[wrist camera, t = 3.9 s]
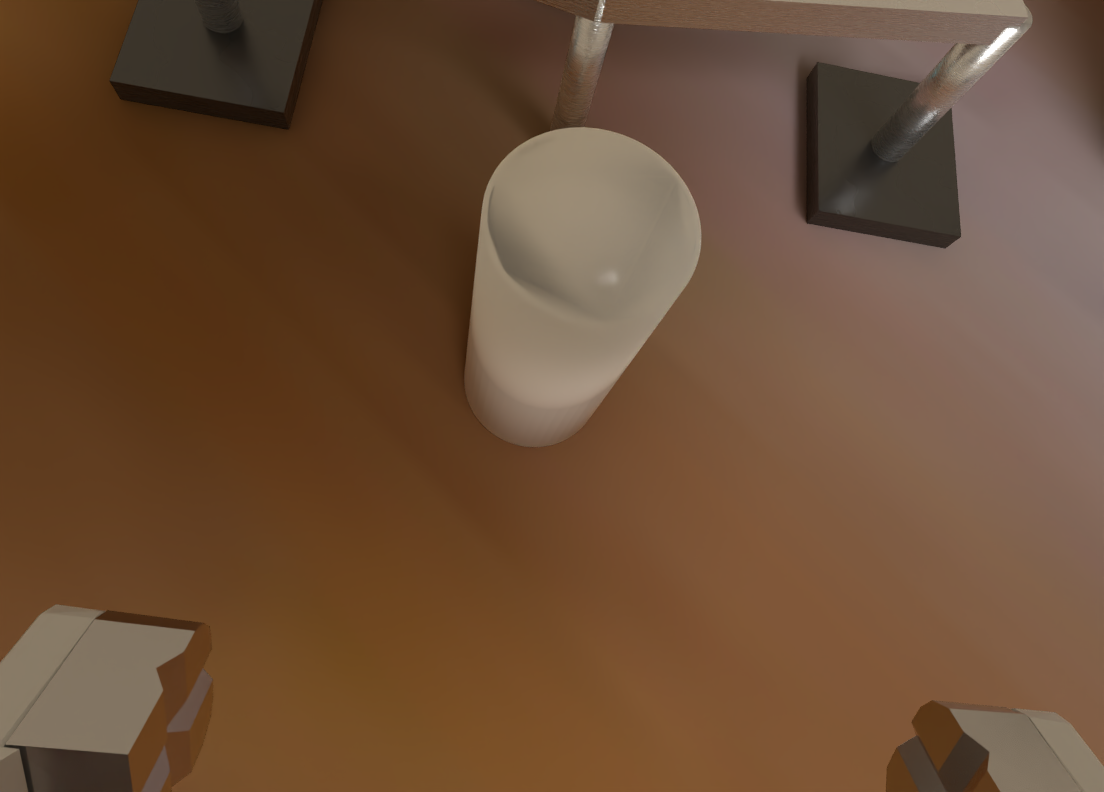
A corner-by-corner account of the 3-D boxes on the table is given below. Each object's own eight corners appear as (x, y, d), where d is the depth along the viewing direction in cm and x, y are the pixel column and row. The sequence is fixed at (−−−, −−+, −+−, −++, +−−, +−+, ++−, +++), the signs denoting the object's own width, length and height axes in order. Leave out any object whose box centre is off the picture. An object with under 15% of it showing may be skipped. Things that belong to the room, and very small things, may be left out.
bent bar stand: (935, 104, 27) (1095, -64, 21) (945, 248, 25) (1124, 114, 19) (173, -51, 24) (74, -304, 18) (120, 99, 22) (-12, -122, 16)
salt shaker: (573, 303, 23) (654, 109, 14) (618, 424, 22) (734, 294, 13) (446, 337, 22) (453, 151, 13) (488, 464, 21) (523, 352, 12)
